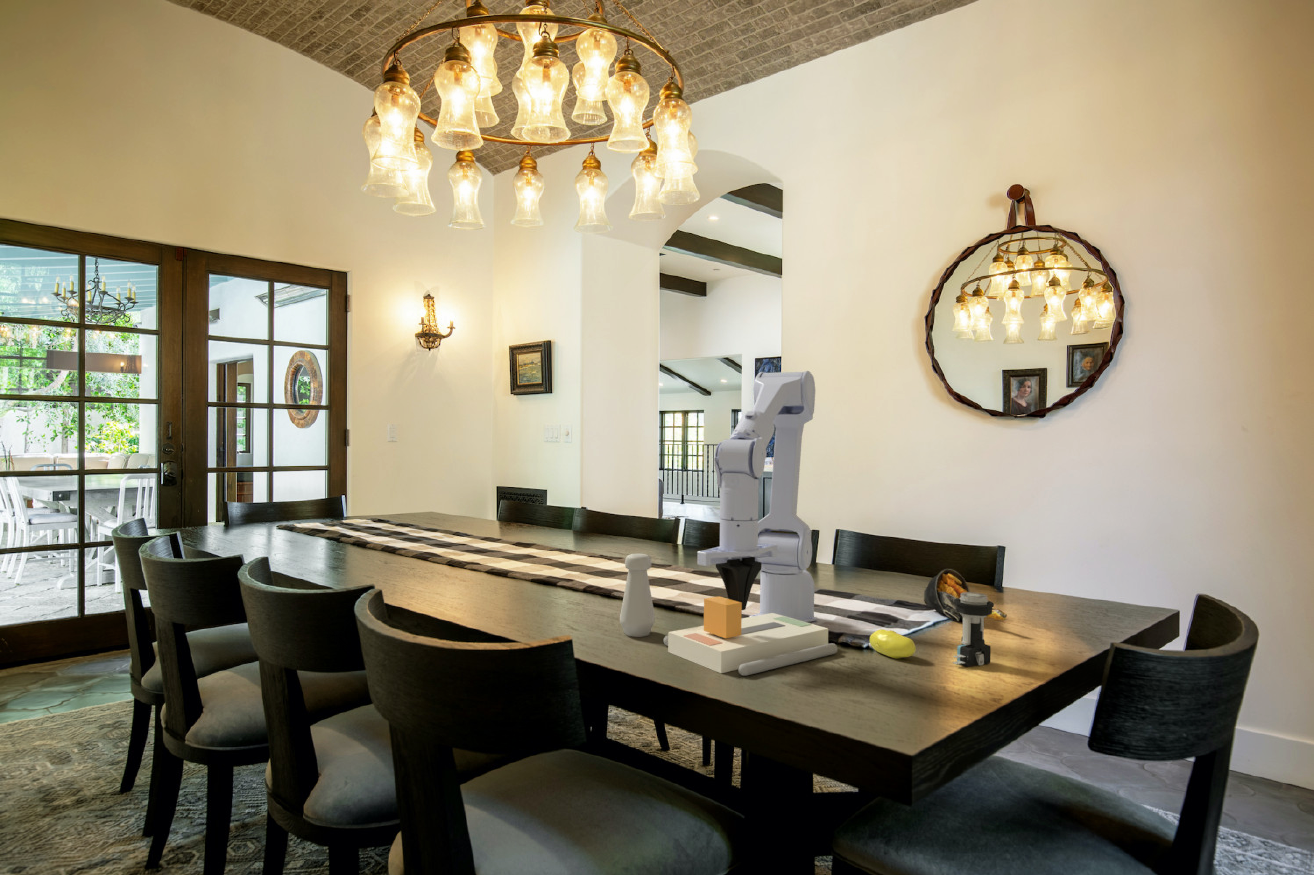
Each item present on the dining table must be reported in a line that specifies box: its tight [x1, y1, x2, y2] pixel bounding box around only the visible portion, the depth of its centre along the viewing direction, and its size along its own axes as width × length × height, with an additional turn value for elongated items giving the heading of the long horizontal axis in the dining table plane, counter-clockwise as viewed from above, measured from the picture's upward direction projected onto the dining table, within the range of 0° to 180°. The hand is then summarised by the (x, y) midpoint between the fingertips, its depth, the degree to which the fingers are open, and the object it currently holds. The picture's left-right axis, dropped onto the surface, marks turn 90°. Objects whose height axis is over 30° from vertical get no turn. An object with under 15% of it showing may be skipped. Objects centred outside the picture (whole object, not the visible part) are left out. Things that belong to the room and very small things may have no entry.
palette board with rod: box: [663, 635, 838, 677], centre depth 113 cm, size 20×19×2 cm
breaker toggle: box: [703, 595, 743, 638], centre depth 110 cm, size 3×5×5 cm, turn 36°
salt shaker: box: [619, 552, 656, 638], centre depth 122 cm, size 6×6×13 cm
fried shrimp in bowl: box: [923, 568, 1008, 622], centre depth 134 cm, size 9×11×18 cm
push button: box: [952, 591, 995, 668], centre depth 108 cm, size 7×5×10 cm
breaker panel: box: [667, 613, 829, 674], centre depth 113 cm, size 22×12×3 cm, turn 126°
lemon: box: [869, 628, 917, 660], centre depth 111 cm, size 4×8×4 cm, turn 28°
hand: (737, 608), depth 112 cm, fingers closed
